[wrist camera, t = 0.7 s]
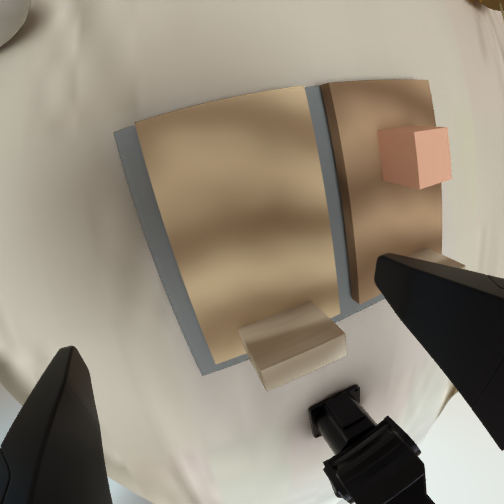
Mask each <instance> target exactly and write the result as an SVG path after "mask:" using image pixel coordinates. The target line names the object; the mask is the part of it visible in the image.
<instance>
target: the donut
mask: <svg viewBox="0 0 504 504" xmlns="http://www.w3.org/2000/svg"><path fill="white" fill-rule="evenodd" d="M30 4H31V0H0V47H1V46H2V45H3V44H5V43H6V42H7V41H9V40H10V39H11V38H12V37H13V36H14V35H15V34H16V33H17V31H18V30H19V29H20V28H21V27H22V25H23V24H24V22H25V21H26V18H27V15H28V11H29V8H30Z"/></svg>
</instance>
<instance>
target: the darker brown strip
mask: <svg viewBox="0 0 504 504" xmlns="http://www.w3.org/2000/svg"><path fill="white" fill-rule="evenodd" d="M320 86H321V91H322V95H323V100H324V104H325V109H326V114H327V119H328V124H329V129H330V134H331V139H332V144H333V150H334V156H335V161H336V167H337V174H338V180H339V186H340V193H341V200H342V207H343V215H344V223H345V231H346V239H347V248H348V258H349V269H350V280H351V293H352V299H353V300H354V301H355V302H357V303H358V304H359V305H360V304H362V303H364V302H366V301H368V300H370V299H372V298H374V297H376V296H378V295H380V294H382V293H381V292H380V290H379V289H378V288H377V286H376V285H375V282H374V274H375V268H376V261H377V258H378V257H379V256H380V255H383V254H386V253H393V254H398V255H403V256H407V257H412V258H416V259H421V260H425V261H430V262H434V263H439V264H443V265H447V266H452V267H456V268H460V269H465V265H463V264H461V263H459V262H457V261H455V260H452V259H450V258H448V257H446V256H444V255H442V254H441V253H442V191H441V183H438V184H435V185H432V186H429V187H426V188H423V189H416V188H412V187H407V186H403V185H399V184H394V183H390V182H385V181H384V180H383V171H382V163H381V156H380V149H379V142H378V136H377V131H379V130H386V129H392V128H399V127H406V126H429V127H436V123H435V116H434V110H433V104H432V98H431V92H430V87H429V82H428V80H364V81H347V82H334V83H327V84H323V85H320Z"/></svg>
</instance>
